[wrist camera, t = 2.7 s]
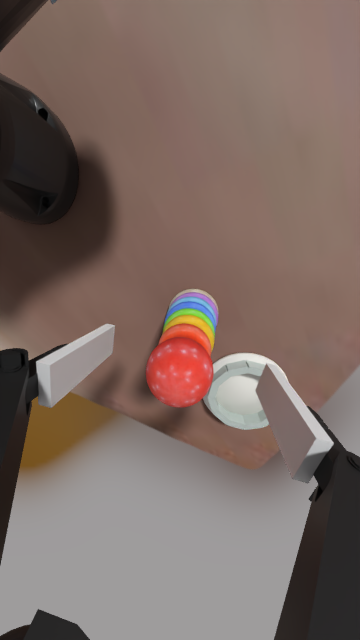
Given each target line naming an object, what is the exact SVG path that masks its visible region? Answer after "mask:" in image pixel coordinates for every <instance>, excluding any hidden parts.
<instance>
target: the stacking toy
mask: <svg viewBox="0 0 360 640" xmlns="http://www.w3.org/2000/svg"><path fill="white" fill-rule="evenodd" d="M217 323H218V307H217V304H216V302H215V300H214V299H213V298H212V296H211V295H209V294H208V293H206V292H205V291H202V290H199V289H188V290H184V291H182V292H180V293H179V294H177V295H176V296H175V297H174V298H173V300H172V301H171V303H170V306H169V310H168V312H167V315H166V318H165V322H164V327H163V333H162V336H161V338H160V340H159V344H158V346H157V347H156V348H155V349H154V350H153V351H152V353H151V355H150V357H149V359H148V362H147V366H146V379H147V384H148V386H149V388H150V390H151V392H152V393H153V395H154V396H155V397H156V398H157V399H158V400H160V401H161V402H163V403H164V404H166V405H169V406H172V407H188V406H191V405H193V404H195V403H197V402H199V401H200V400H201V399H202V398H203V397H204V396H205V395H206V394H207V392H208V391H209V389H210V387H211V384H212V381H213V375H214V372H213V363H212V360H211V358H210V356H211V352H212V349H213V346H214V337H215V330H216V326H217Z"/></svg>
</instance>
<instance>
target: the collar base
mask: <svg viewBox="0 0 360 640" xmlns="http://www.w3.org/2000/svg"><path fill="white" fill-rule="evenodd" d="M266 363H268V364H272V365H276V366H277V368H278V369H279V370H280V372H281V373H282V374H283V376H284V377H285V378H286V380H287V381H288V379H287V377H286V375H285V373H284V372H283V371H282V369H281V368H280V367H279V366H278V365H277V364H276V363H275V362H274V361H272V360H271V359H269V358H267V357H265V356H263V355H259V354H255V353H248V352H241V353H234V354H230V355H227V356H224V357H222V358H220V359H219V360H217V361H216V362H214V363H213V372H214V375H213V381H212V384H211V387H210V389H209V391H208V392H207V394H206V395H205V396H204V397H203V400H204V402H205V404H206V406H207V407H208V409H209V410H210V411H211V412H212V413H213V414H214V415H215V416H216V417H217V418H219V419H220V420H221V421H222V422H223V423H225V424H227V425H228V426H232V427H236V428H239V429H243V430H244V429H245V430H248V429H256V428H263V426H264V427H266V426H267V425H269V422H268V420H267V417H266V415H265V413H264V410H263V408H262V405H261V403H260V401H259V398H258V396H257V394H256V391H255V390H256V387H257V385H258V382H259V380H260V377H261V375H262V372H263V370H264V367H265V365H266Z"/></svg>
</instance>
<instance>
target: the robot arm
mask: <svg viewBox="0 0 360 640" xmlns="http://www.w3.org/2000/svg"><path fill="white" fill-rule="evenodd" d="M47 1H48V0H0V52H1V50H2V49H3V48H4V47H5V46H6V45H7V44H8V43H9V42H10V40H11V39H12V38H13V37H14V36H15V35H16V34H17V33H18V32H19V31H20V30H21V29H22V28H23V27H24V25H25V24H26V23H27V22H28V21H29V20H30V19H31V18H32V17H33V16H34V15H35V14H36V13H37V12H38V10H39V9H40V8H41V7H42V6H43V5H44V4H45V3H46V2H47ZM56 1H57V0H51V3H52V4H53V3H55V2H56ZM77 186H78V162H77V156H76V152H75V148H74V145H73V143H72V140H71V138H70V136H69V134H68V132H67V130H66V128H65V126H64V125H63V123H62V122H61V121H60V119H59V118H58V117H57V116H56V115H55V114H54V113H53V112H52V111H51V110H50V108H49V107H48V106H47V105H46V104H45V103H44V102H43V101H42V100H41V99H40V98H39V97H37V96H36V95H35V94H34V93H32V92H31V91H30V90H28V89H27V88H25V87H23V86H22V85H20V84H18V83H17V82H15V81H13V80H11V79H10V78H8V77H6V76H4V75H3V74H1V73H0V211H2V212H4V213H5V214H7V215H9V216H11V217H14V218H16V219H19V220H23V221H26V222H30V223H34V224H47V223H51V222H54V221H56V220H58V219H59V218H61V217H62V216H63V215H64V214H65V213H66V212H67V211H68V209H69V208H70V206H71V204H72V202H73V200H74V198H75V195H76V191H77ZM114 331H115V325H111V324H105V325H103V326H101V327H100V328H98V329H96V330H94V331H92V332H90V333H88V334H87V335H85V336H83V337H81V338H79V339H77V340H75V341H74V342H72V343H70V344H64V345H60V346H57V347H55V348H53V349H51V350H49V351H47V352H45V353H43V354H41V355H39V356H37V357H35V358H34V359H32V360H30V361H28V351H27V350H25V349H20V348H12V349H6V350H2V351H0V564H1V558H2V554H3V549H4V544H5V538H6V533H7V528H8V523H9V518H10V513H11V508H12V503H13V498H14V493H15V488H16V482H17V478H18V473H19V468H20V463H21V457H22V452H23V447H24V442H25V437H26V432H27V427H28V422H29V417H30V411H31V407H32V402H31V401H32V400H33V399H34V398H36V397H37V396H38V402H39V405H43V406H47V407H50V408H51V407H53V406H54V405H55V404H56V403H57V402H58V401H59V400H61V399H62V398H63V397H64V396H65V395H66V394H67V393H68V392H70V391H71V390H72V389H73V388H74V387H75V386H76V385H77V384H79V383H80V382H81V381H82V380H83V379H84V378H85V377H86V376H87V375H89V374H90V373H91V372H92V371H93V370H94V369H95V368H96V367H98V366H99V365H100V364H101V363H102V362H103V361H104V360H105V359H107V358H108V357H109V356H110V355H111V354H112V353H113V342H114ZM255 391H256V394H257V396H258V398H259V401H260V403H261V405H262V408H263V410H264V413H265V415H266V417H267V420H268V422H269V425H270V427H271V429H272V432H273V434H274V436H275V439H276V441H277V444H278V446H279V448H280V451H281V453H282V455H283V458H284V460H285V462H286V465H287V467H288V470H289V472H290V475H291V477H292V479H295V480H298V481H302V482H305V483H309V481H310V480H311V478H312V477H313V475H314V476H315V478H316V480H317V482H318V486H317V487H316V489H315V490H314V492H313V493H312V495H311V496H310V498H309V500H310V501H312V503H311V507H310V510H309V514H308V517H307V521H306V525H305V528H304V532H303V536H302V540H301V543H300V547H299V550H298V554H297V558H296V561H295V565H294V568H293V572H292V576H291V580H290V583H289V587H288V591H287V594H286V598H285V602H284V605H283V609H282V613H281V616H280V620H279V623H278V627H277V631H276V635H275V638H274V640H360V457H359V456H357V455H355V454H353V453H351V452H348V451H346V449H345V448H344V447H343V446H342V444H341V443H340V442H339V441H338V439H337V438H336V437H335V435H334V434H333V433H332V432H331V430H330V429H328V427H327V425H326V424H325V423H323V420H322V419H321V418H320V416H319V415H318V414H317V413H316V412H315V411H314V410H312V409H311V408H310V407H309V406H306V405H305V404H304V402H303V401H302V400H301V398H300V397H299V396H298V394H297V393H296V392H295V390H294V389H293V388H292V386H291V385H290V384H289V382H288V381H287V380H286V378H285V377H284V376H283V374H282V373H281V372H280V370H279V369H278V368H277V366H276V365H272V364H268V363H266V365H265V367H264V370H263V372H262V375H261V377H260V380H259V382H258V385H257V387H256V390H255ZM0 640H90V639H89V638H88V637H87V636H86V635H85V633H84V632H83V631H82V630H81V629H80V627H79V626H78V625H77V624H75V623H72V622H70V621H67V620H64V619H62V618H59V617H57V616H54V615H52V614H49V613H47V612H44V611H42V610H39V609H38V611H37V612H36V615H35V617H34V619H33V621H32V623H31V624H30V625H25V626H22V627H19V628H16V629H13V630H11V631H9V632H7V633H5V634H3V635H1V636H0Z"/></svg>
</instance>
